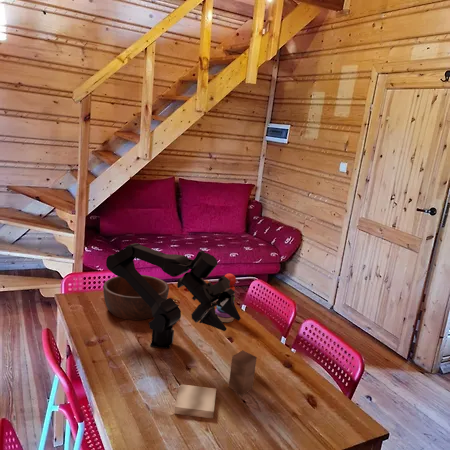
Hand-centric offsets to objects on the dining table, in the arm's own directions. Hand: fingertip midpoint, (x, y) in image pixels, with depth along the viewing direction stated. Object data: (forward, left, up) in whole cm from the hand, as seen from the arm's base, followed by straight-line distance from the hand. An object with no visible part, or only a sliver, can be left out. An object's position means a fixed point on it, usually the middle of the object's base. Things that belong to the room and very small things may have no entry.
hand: (233, 324), depth 130 cm
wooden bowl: (-38, +35, -15) cm, 54 cm away
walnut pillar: (+4, -9, -15) cm, 18 cm away
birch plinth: (-8, -19, -15) cm, 25 cm away
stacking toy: (-3, +36, -15) cm, 39 cm away
